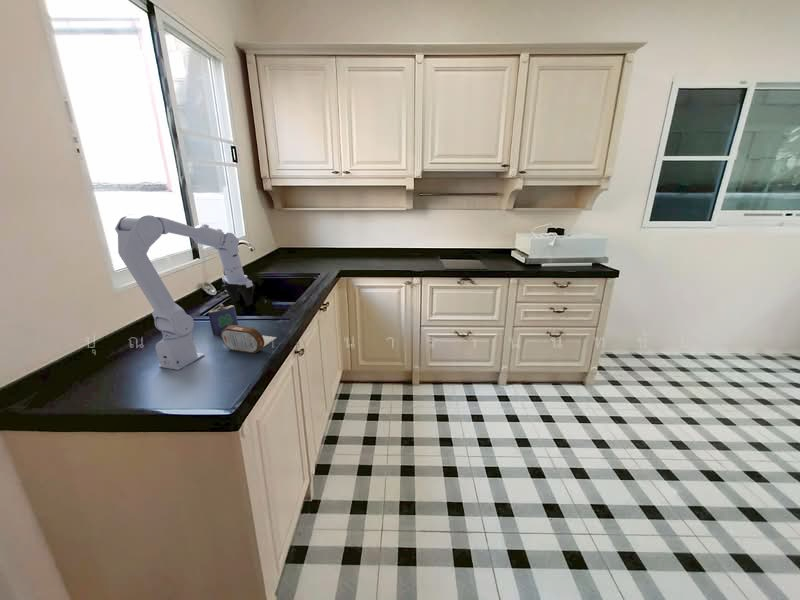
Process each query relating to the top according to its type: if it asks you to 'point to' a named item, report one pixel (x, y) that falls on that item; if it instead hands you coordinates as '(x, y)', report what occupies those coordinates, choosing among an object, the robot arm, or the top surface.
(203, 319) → the top surface
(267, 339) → the mat
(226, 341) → the tin
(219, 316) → the flask
